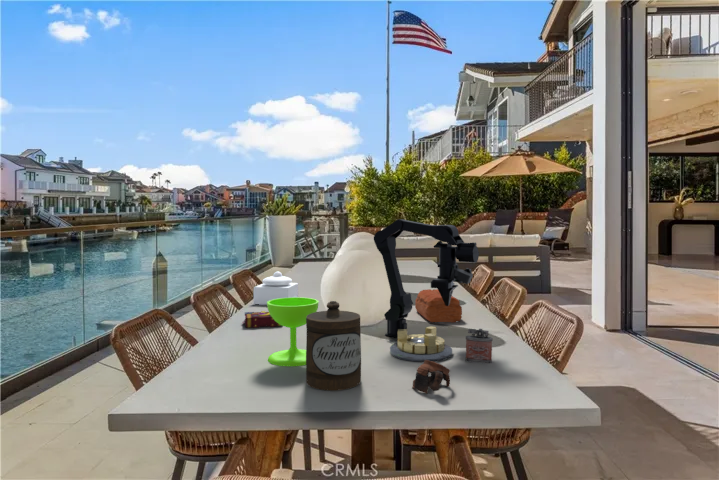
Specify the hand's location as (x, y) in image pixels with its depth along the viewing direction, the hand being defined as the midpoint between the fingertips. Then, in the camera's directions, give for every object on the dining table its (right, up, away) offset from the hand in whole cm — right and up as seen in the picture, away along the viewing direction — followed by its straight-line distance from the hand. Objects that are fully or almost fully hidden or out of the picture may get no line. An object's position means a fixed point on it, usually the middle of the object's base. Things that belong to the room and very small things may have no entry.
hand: (447, 305), depth 181 cm
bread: (+4, -11, +46) cm, 47 cm away
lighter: (+6, -15, -22) cm, 27 cm away
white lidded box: (-72, -9, +81) cm, 109 cm away
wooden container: (-38, -16, -41) cm, 57 cm away
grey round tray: (-11, -14, -13) cm, 22 cm away
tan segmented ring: (-10, -12, -12) cm, 20 cm away
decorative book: (-70, -12, +30) cm, 77 cm away
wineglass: (-51, -14, -19) cm, 57 cm away
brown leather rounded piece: (-12, -16, -46) cm, 50 cm away
